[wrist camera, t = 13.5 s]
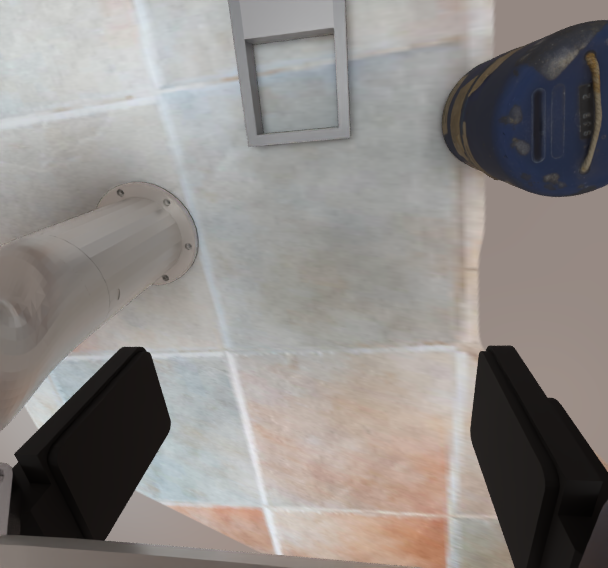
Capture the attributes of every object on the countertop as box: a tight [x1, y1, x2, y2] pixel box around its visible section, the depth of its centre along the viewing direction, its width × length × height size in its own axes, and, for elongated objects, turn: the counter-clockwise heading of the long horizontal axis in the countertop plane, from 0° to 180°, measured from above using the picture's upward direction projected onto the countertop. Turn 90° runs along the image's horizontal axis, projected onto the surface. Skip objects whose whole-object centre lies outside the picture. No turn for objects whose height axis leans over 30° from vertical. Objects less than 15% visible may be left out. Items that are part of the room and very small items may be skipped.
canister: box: [442, 20, 608, 197], centre depth 28 cm, size 10×10×18 cm
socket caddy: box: [228, 0, 350, 147], centre depth 34 cm, size 23×10×3 cm, turn 5°
